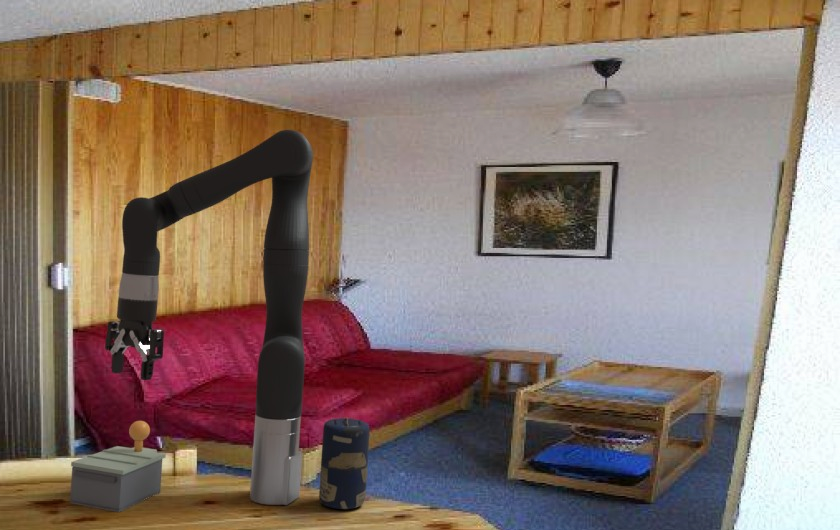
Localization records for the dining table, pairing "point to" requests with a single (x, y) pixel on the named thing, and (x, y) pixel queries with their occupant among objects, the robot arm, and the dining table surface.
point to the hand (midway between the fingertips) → (131, 376)
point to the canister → (344, 463)
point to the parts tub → (115, 487)
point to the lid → (123, 454)
